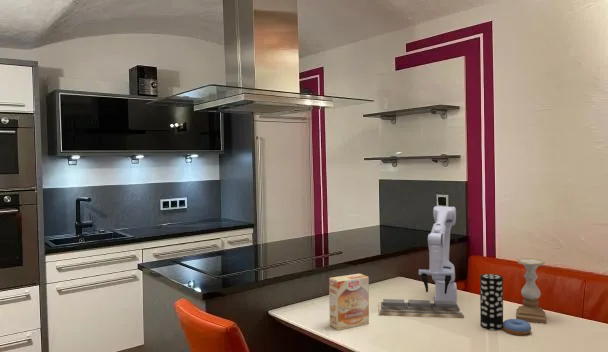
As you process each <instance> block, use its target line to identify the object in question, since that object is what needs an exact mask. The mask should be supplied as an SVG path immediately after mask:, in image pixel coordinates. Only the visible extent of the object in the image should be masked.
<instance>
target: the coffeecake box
mask: <svg viewBox="0 0 608 352" xmlns="http://www.w3.org/2000/svg"><path fill="white" fill-rule="evenodd" d="M369 278H370V277H369V276H367V275H365V274H363V273H355V274H354V273H353V274H348V275H347V274H346V275H340V276H339V275H338V276H334V277H329V282H328V283H329V285H328V286H329V291H328V292H329V296H328V297H329V301H328V302H329V326H330V327H333V328H334V329H335V330H337V331H341V330H347V329H351V328H356V327H360V326H365V325H369V324H370V312H369V311H370V304H369V303H370V299H369V298H370V297H369V295H370V292H369V291H370V289H369V288H370V285H369V284H370V283H369V282H370V279H369Z"/></svg>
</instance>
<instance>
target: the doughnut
mask: <svg viewBox="0 0 608 352" xmlns="http://www.w3.org/2000/svg"><path fill="white" fill-rule="evenodd" d="M502 330H504V331H505V332H506V333H508V334H510V333H511V335H514V336H526V335H529V334H530V332H531V330H532V326H531V324H530V322H526V321H524V320H520V319H516V318H509V319H506V320H503V329H502Z"/></svg>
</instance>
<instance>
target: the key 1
mask: <svg viewBox="0 0 608 352" xmlns="http://www.w3.org/2000/svg"><path fill="white" fill-rule="evenodd" d="M382 299H383V300H382V302H383V306H405V303H404V302H405V299H396V298H395V299H394V298H393V299H392V298H390V299H389V298H382Z"/></svg>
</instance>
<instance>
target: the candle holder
mask: <svg viewBox="0 0 608 352" xmlns="http://www.w3.org/2000/svg"><path fill="white" fill-rule="evenodd" d="M516 262H517V263H518V264H519V265H522V266H523V267H524V268H525V271H526V272H525V274H524V275H523V277H524V279H525V284H524V286H523V287H522V288H521V292H520V293H521V296H522V297H523V299H522V303H523V305H519V306H518V308H516V309H515V311H516V314H515V319H520V320H524V321H526V322H528V323H533V324H540V323H543V325H546V323H547V318H546V312H545V310H544V308H542V307H540V306H539V304H540V301H539V300H538V299H539V298H540V297H541V295H542V294H541V291H540V288H539V287H538V285H537V284H536V282H537V281H536V280H537V279H538V278H539V277H538V274H537V273H536V271H537V269H538V267H540V266H544V265H545V264H546V263H545V261H544V260H542V259H539V258H538V259H537V258H536V259H535V258H525V257H524V258H519V259H517V261H516Z"/></svg>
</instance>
